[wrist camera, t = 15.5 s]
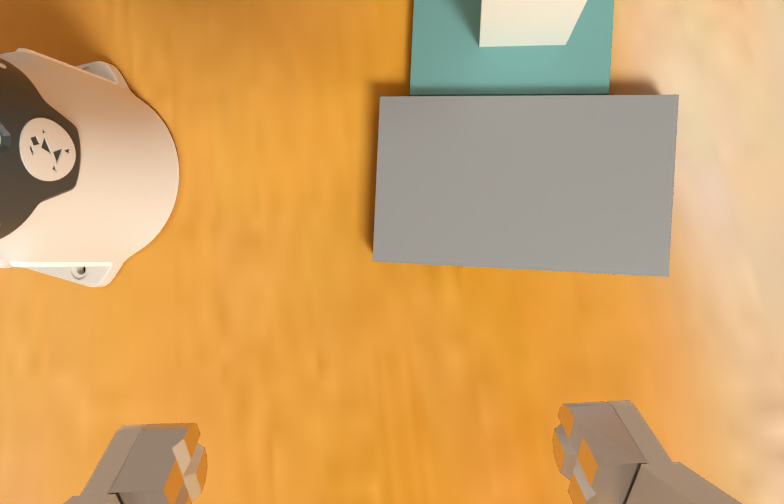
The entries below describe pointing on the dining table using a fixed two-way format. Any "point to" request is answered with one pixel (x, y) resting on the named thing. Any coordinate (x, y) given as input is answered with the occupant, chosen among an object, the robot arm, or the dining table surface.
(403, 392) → the dining table surface
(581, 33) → the mat
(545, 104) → the deck
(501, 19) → the cream block
